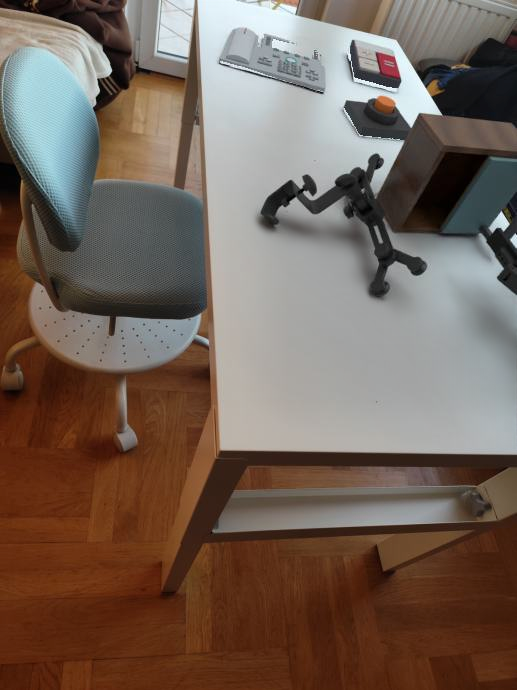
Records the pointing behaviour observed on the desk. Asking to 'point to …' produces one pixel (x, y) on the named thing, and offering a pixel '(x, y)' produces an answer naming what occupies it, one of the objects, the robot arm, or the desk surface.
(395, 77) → the button panel
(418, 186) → the closet
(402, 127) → the switch block
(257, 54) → the office telephone
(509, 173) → the sliding door
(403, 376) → the desk surface
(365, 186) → the tablet mount
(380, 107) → the light button
